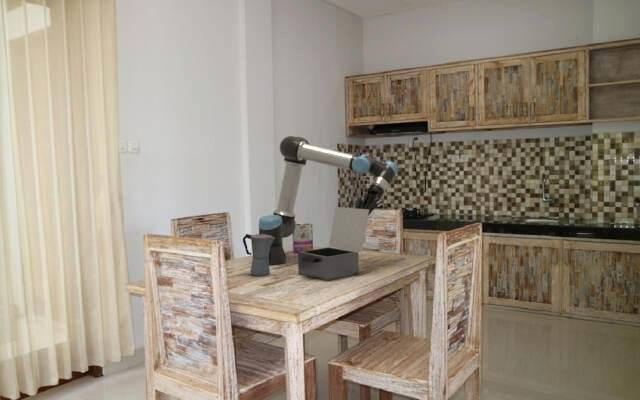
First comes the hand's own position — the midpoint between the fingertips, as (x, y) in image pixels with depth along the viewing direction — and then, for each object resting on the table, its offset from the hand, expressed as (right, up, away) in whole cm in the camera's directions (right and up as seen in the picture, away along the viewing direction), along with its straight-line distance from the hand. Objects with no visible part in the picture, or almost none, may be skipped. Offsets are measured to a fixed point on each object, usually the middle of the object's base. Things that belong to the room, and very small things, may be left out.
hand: (353, 226), depth 226 cm
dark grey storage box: (-12, -21, -9) cm, 26 cm away
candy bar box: (-25, -18, +52) cm, 60 cm away
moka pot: (-42, -22, -5) cm, 48 cm away
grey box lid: (-3, -1, -2) cm, 3 cm away
